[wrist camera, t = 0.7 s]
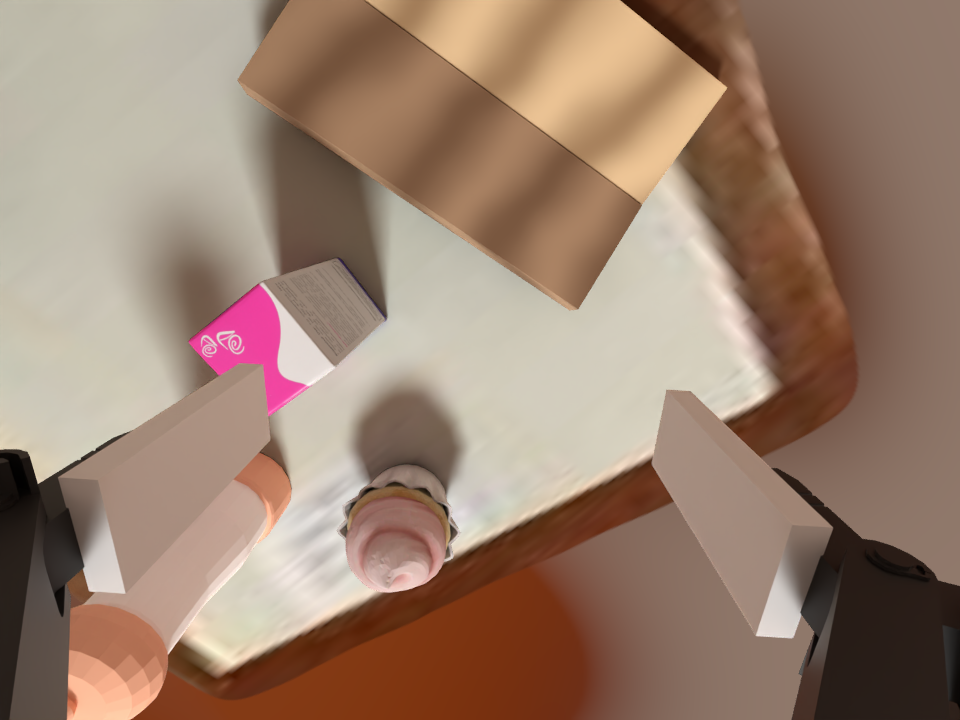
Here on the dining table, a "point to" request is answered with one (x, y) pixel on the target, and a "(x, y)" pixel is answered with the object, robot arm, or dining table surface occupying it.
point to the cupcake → (398, 529)
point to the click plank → (440, 143)
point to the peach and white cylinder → (167, 599)
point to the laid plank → (574, 76)
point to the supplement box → (292, 328)
